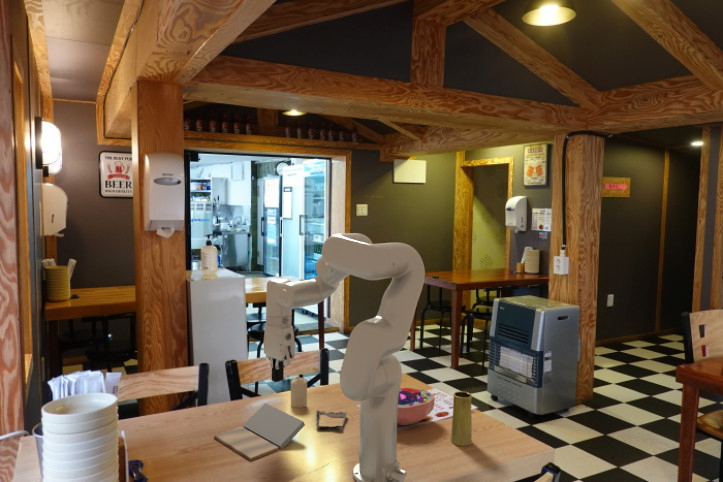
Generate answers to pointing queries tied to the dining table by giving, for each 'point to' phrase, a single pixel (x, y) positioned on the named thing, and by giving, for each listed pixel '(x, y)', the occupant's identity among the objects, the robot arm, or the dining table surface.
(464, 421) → the vase
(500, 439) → the dining table surface
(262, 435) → the grey flat slab
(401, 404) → the cell model
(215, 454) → the dining table surface
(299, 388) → the beige bottle
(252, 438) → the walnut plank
